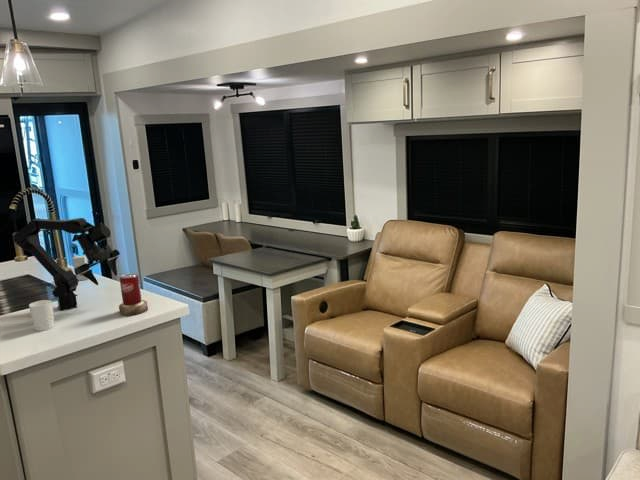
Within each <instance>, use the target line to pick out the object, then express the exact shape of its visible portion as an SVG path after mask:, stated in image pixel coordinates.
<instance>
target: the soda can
mask: <svg viewBox="0 0 640 480" xmlns="http://www.w3.org/2000/svg"><path fill="white" fill-rule="evenodd" d="M119 285H120V292H121V300H122V303H123V305H125V306H135V305H138V304H140V303H141V302H142V300H143V299H142V293H141V286H140V279H139V274H137V273H133V272H132V273H126V274H123V275H120V277H119Z"/></svg>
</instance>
